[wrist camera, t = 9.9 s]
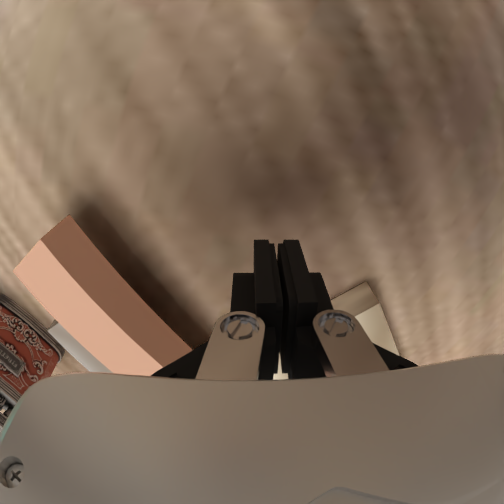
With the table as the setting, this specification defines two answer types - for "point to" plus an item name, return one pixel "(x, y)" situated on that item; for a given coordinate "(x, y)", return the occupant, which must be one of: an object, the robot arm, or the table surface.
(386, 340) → the stool seat
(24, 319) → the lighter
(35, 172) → the table surface
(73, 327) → the stool leg
